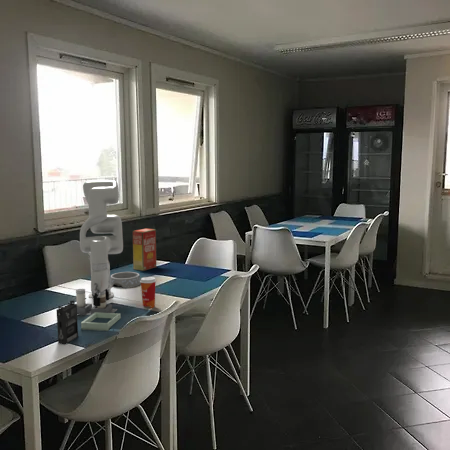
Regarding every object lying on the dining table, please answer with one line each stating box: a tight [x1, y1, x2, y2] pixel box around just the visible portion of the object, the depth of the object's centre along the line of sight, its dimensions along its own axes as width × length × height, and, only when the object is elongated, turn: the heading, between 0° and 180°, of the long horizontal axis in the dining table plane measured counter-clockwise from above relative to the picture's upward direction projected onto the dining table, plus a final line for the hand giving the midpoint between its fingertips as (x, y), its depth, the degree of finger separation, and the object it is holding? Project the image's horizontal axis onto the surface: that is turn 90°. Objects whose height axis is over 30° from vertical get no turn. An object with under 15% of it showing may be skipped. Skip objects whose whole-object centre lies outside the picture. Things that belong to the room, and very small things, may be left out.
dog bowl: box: [110, 271, 141, 289], centre depth 287 cm, size 17×18×5 cm
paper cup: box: [140, 276, 157, 309], centre depth 243 cm, size 8×8×14 cm
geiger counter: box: [56, 300, 79, 346], centre depth 200 cm, size 10×4×15 cm, turn 163°
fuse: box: [75, 288, 87, 308], centre depth 234 cm, size 4×4×10 cm
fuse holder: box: [77, 302, 118, 316], centre depth 234 cm, size 10×22×4 cm, turn 80°
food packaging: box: [132, 227, 157, 272], centre depth 324 cm, size 13×9×25 cm
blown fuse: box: [97, 290, 107, 309], centre depth 232 cm, size 4×4×10 cm
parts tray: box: [80, 312, 122, 332], centre depth 218 cm, size 14×12×3 cm
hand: (101, 302), depth 232 cm, fingers open, 9 cm apart
